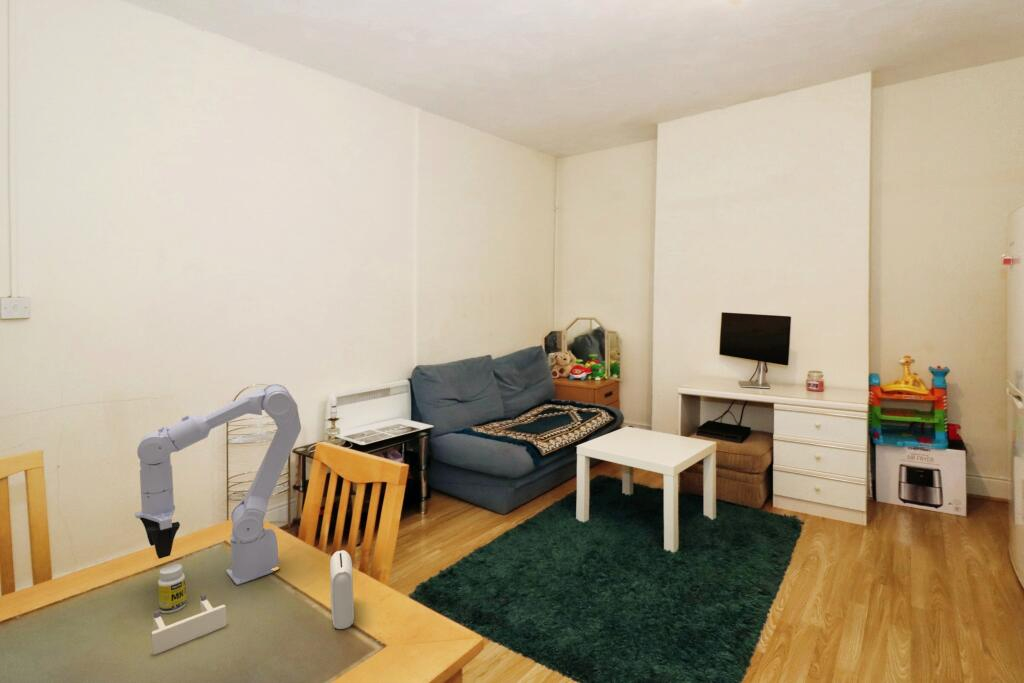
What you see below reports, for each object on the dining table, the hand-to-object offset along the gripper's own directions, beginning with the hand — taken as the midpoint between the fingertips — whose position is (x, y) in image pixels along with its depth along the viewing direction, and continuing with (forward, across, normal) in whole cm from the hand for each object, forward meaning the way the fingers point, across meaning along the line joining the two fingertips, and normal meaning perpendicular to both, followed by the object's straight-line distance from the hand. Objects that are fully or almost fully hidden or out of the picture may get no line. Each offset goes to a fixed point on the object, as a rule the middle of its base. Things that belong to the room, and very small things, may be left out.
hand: (160, 550), depth 114 cm
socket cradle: (+10, +18, 0) cm, 20 cm away
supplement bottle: (+10, +8, 0) cm, 12 cm away
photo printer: (+9, +35, +24) cm, 43 cm away
